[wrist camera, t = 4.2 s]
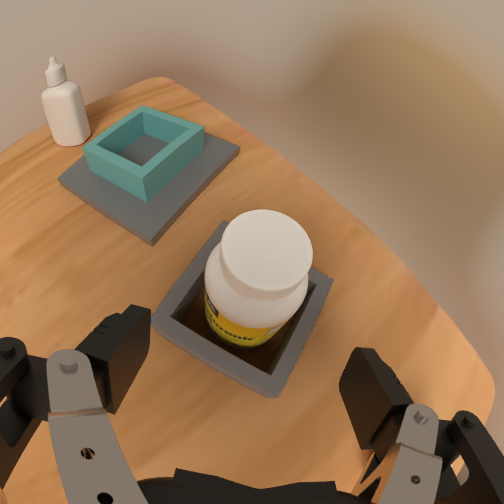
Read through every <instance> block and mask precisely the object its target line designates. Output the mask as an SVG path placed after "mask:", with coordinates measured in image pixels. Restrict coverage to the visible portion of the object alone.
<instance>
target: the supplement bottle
mask: <svg viewBox="0 0 504 504" xmlns="http://www.w3.org/2000/svg"><path fill="white" fill-rule="evenodd" d="M312 259H313V250H312V245H311V241H310V239H309V237H308V235H307V233H306V232H305V230H304V229H303V228H302V227H301V226H300V225H299V224H298V223H297V222H296V221H295V220H293V219H292V218H290V217H289V216H287V215H285V214H283V213H280V212H277V211H272V210H265V209H258V210H252V211H248V212H245V213H243V214H240V215H239V216H237V217H236V218H234V219H233V220H232V221H231V222H230V223H229V224H228V226H227V227H226V229H225V231H224V233H223V236H222V239H221V242H220V243H219V244H218V245H217V246H216V247H215V248H214V249H213V251H212V252H211V254H210V256H209V258H208V261H207V264H206V268H205V277H204V283H205V313H206V320H207V323H208V326H209V328H210V330H211V331H212V333H213V334H214V336H215V337H216V338H217V339H218V340H220V341H221V342H222V343H224V344H226V345H228V346H230V347H233V348H238V349H250V348H254V347H257V346H259V345H262V344H263V343H265V342H267V341H268V340H269V339H270V338H271V337H272V336H273V335H274V334H275V333H276V332H277V331H278V330H279V329H280V328H281V327H282V326H283V325H284V324H285V323H286V322H287V321H288V320H289V319H290V318H291V317H292V316H293V315H294V314H295V312H296V311H297V310H298V308H299V307H300V305H301V304H302V302H303V300H304V298H305V296H306V293H307V288H308V271H309V270H310V267H311V264H312Z"/></svg>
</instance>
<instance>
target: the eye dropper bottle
mask: <svg viewBox="0 0 504 504" xmlns="http://www.w3.org/2000/svg"><path fill="white" fill-rule="evenodd" d="M44 73H45V77H46V82H47V86H48V88H46V89H45V90H44V91H43V93H42V95H41V101H42V105H43V108H44V112H45V115H46V118H47V121H48V124H49V127H50V130H51V133H52V136H53V138H54V141H55V142H56V143H57V144H59V145H61V146H77V145H81V144H83V143H84V142H85V141H86V140H87V139H88V137H89V136H90V135H91V130H90V126H89V123H88V119H87V114H86V110H85V106H84V102H83V97H82V93H81V90H80V86H79V85H78V84H77V83H75V82H73V81H70V80H67V76H66V72H65V66H64V64H63V63H58V62H57V60H56V57H55V56H53V57H51V58H49V67H48V69H47V70H46V71H45V72H44Z"/></svg>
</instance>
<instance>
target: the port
mask: <svg viewBox="0 0 504 504" xmlns="http://www.w3.org/2000/svg"><path fill="white" fill-rule="evenodd" d="M239 148H240V147H239V146H237V145H234V144H232V143H230V142H227V141H225V140H223V139H220V138H218V137H215V136H213V135H210V134H208V133H205V132H204V127H203V126H201V125H198V124H195V123H193V122H190V121H187V120H184V119H182V118H179V117H176V116H173V115H170V114H167V113H164V112H161V111H158V110H155V109H152V108H149V107H146V106H141V107H139V108H137V109H136V110H134V111H133V112H131V113H130V114H128V115H127V116H125V117H124V118H122V119H121V120H119V121H118V122H116V123H115V124H114V125H112V126H111V127H109V128H108V129H107V130H105V131H104V132H102V133H101V134H100V135H98V136H97V137H96V138H94V139H93V140H92V141H90V142H89V143H88V144H87V145H85V146H84V147H83V151H84V154H85V155H84V156H82V157H81V158H80V159H79V160H78V161H77V162H75V163H74V164H73V165H72V166H71V167H70V168H69V169H67V170H66V171H65V172H64V173H63V174H62V175H61V176H60V177H59V178H58V180H59V182H60V184H61V185H62V186H63V187H65V188H66V189H67V190H69V191H70V192H72V193H73V194H74V195H76V196H77V197H79V198H80V199H82V200H83V201H85V202H86V203H87V204H89V205H90V206H92V207H93V208H95V209H96V210H98V211H99V212H101V213H102V214H104V215H105V216H107V217H108V218H110V219H111V220H113V221H114V222H116V223H117V224H119V225H120V226H122V227H123V228H125V229H126V230H128V231H129V232H131V233H132V234H134V235H135V236H137V237H139V238H140V239H142V240H143V241H145V242H146V243H148V244H150V245H151V246H154V245H155V243H156V242H157V241H158V240H159V239H160V238H161V236H162V235H163V234H164V233H165V232H166V231H167V229H168V228H169V227H170V226H171V225H172V224H173V223H174V221H175V220H176V219H177V218H178V217H179V216H180V215H181V214H182V213H183V211H184V210H185V209H186V208H187V207H188V206H189V205H190V204H191V203H192V202H193V200H194V199H195V198H196V197H197V196H198V195H199V194H200V193H201V192H202V191H203V190H204V189H205V188H206V187H207V186H208V184H209V183H210V182H211V181H212V180H213V179H214V178H215V177H216V176H217V175H218V174H219V173H220V172H221V171H222V170H223V169H224V168H225V167H226V166H227V165H228V164H229V163H230V162H231V161H232V160H233V159H234V158H235V157H236V156H237V155H238V154H239Z"/></svg>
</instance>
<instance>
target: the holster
mask: <svg viewBox="0 0 504 504" xmlns="http://www.w3.org/2000/svg"><path fill="white" fill-rule="evenodd" d="M228 224H229V222H227V221H225V220H224V221H223V222H222V223H221V224H220V226H219V227H218V228H217V229H216V231H215V232H214V233H213V235H212V236H211V237H210V238H209V240H208V241H207V242H206V244H205V245H204V246H203V247H202V249H201V250H200V251H199V253H198V254H197V255H196V257H195V258H194V259H193V261H192V262H191V263H190V265H189V266H188V267H187V268H186V270H185V271H184V272H183V274H182V275H181V276H180V278H179V279H178V280H177V282H176V283H175V285H174V286H173V287H172V289H171V290H170V291H169V293H168V294H167V295H166V297H165V298H164V299H163V301H162V302H161V304H160V305H159V306H158V308H157V309H156V311H155V312H154V313H153V315H152V316H151V325H152V327H153V328H154V329H155V331H156V332H157V333H158V334H160V335H161V336H163V337H164V338H166V339H167V340H169V341H170V342H172V343H173V344H175V345H176V346H178V347H179V348H181V349H182V350H184V351H186V352H187V353H189V354H190V355H192V356H193V357H195V358H197V359H198V360H200V361H202V362H203V363H205V364H207V365H208V366H210V367H212V368H213V369H215V370H217V371H219V372H220V373H222V374H224V375H226V376H227V377H229V378H231V379H233V380H234V381H236V382H238V383H240V384H242V385H244V386H246V387H247V388H249V389H251V390H253V391H255V392H257V393H259V394H261V395H263V396H265V397H267V398H276V397H279V395H280V393H281V391H282V389H283V387H284V386H285V384H286V382H287V380H288V378H289V376H290V374H291V372H292V370H293V368H294V366H295V364H296V362H297V360H298V358H299V356H300V354H301V352H302V350H303V348H304V346H305V344H306V342H307V339H308V337H309V335H310V333H311V331H312V329H313V326H314V324H315V322H316V320H317V318H318V315H319V313H320V311H321V309H322V306H323V304H324V302H325V299H326V297H327V295H328V292H329V290H330V288H331V285H332V283H333V279H332V278H330V277H328V276H326V275H324V274H323V273H321V272H319V271H317V270H315V269H314V268H312V267H310V270H309V271H308V288H307V293H306V296H305V298H304V300H303V302H302V304H301V306H300V308H299V310H298V312H297V314H296V316H295V318H294V320H293V322H292V324H291V326H290V328H289V330H288V332H287V334H286V336H285V338H284V340H283V341H282V343H281V345H280V347H279V349H278V351H277V353H276V355H275V357H274V358H273V360H272V362H271V364H270V366H269V368H268V370H267V371H266V373H265V372H263V371H261V370H259V369H257V368H256V367H254V366H252V365H250V364H248V363H246V362H245V361H243V360H241V359H239V358H237V357H236V356H234V355H232V354H230V353H229V352H227V351H225V350H223V349H222V348H220V347H218V346H216V345H215V344H213V343H211V342H210V341H208V340H206V339H205V338H203V337H202V336H200V335H198V334H197V333H195V332H193V331H192V330H190V329H189V328H187V327H185V326H184V325H182V324H181V323H180V322H181V320H182V319H183V317H184V316H185V314H186V313H187V312H188V310H189V309H190V307H191V306H192V304H193V303H194V301H195V300H196V298H197V297H198V296H199V294H200V293H201V291H202V290H203V288H204V287H205V283H204V277H205V268H206V264H207V261H208V258H209V256H210V254H211V252H212V251H213V249H214V248H215V247H216V246H217V245H218V244H219V243H220V242H221V239H222V236H223V233H224V231H225V229H226V227H227V226H228Z"/></svg>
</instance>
